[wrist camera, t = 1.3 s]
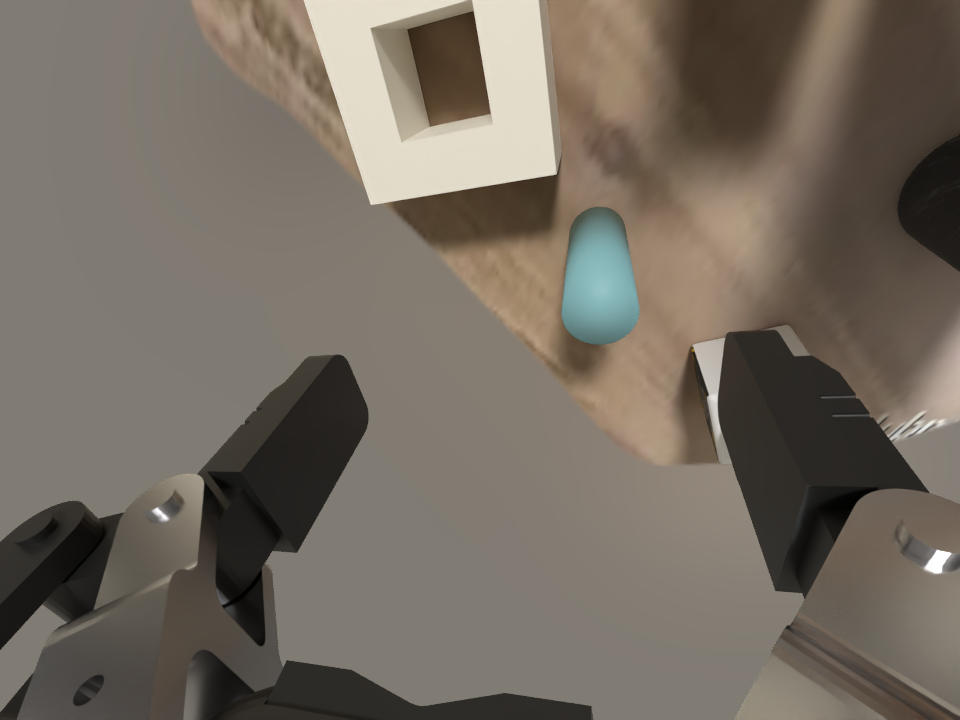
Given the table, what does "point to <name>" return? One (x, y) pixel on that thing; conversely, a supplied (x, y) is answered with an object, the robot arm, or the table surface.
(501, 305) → the table surface
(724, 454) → the medicine bottle
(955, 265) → the travel mug
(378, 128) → the socket block
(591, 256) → the peg
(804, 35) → the table surface
